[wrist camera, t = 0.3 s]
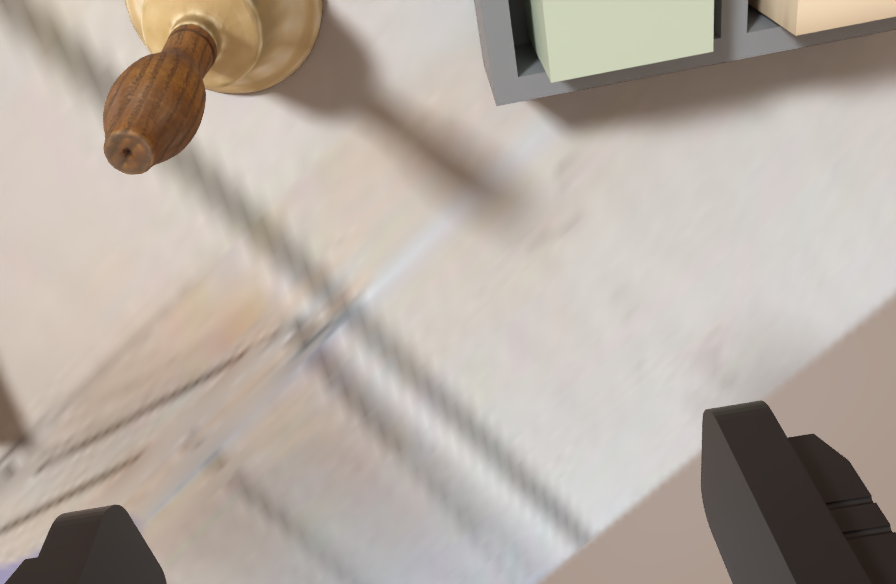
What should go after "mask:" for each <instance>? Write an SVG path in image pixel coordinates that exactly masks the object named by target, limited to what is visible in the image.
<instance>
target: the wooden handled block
mask: <svg viewBox="0 0 896 584" xmlns="http://www.w3.org/2000/svg"><path fill="white" fill-rule="evenodd" d="M748 4H750V5H751V6H753V7H754V8H755V9H757V10H758V11H760V12H761V13H763V14H764V15H766V16H767V17H769V18H770V19H772V20H773V21H775V22H776V23H778V24H779V25H780V26H782V27H783V28H785V29H786V30H788V31H789V32H791V33H792V34H794V35H795V36H797V35H802V34H808V33H813V32H818V31H823V30H828V29H833V28H839V27H844V26H849V25H854V24H859V23H865V22H870V21H875V20H880V19H885V18H891V17H896V0H748Z"/></svg>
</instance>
